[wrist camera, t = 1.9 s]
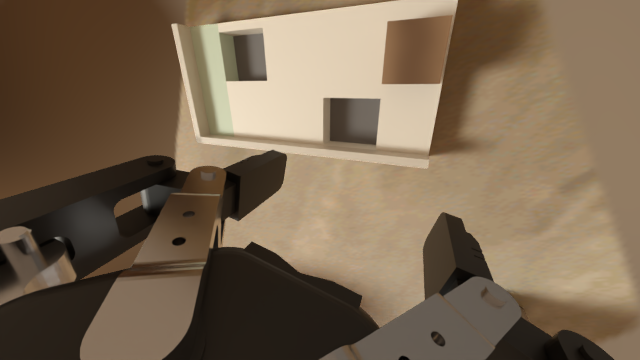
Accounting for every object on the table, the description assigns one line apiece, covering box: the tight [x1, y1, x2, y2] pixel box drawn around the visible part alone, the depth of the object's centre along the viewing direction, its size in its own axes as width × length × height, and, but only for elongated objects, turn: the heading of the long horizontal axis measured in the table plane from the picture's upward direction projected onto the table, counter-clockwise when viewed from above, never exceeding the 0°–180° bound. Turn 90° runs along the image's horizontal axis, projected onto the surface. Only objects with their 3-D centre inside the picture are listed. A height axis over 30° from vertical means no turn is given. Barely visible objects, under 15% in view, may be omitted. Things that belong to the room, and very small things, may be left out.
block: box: [382, 15, 453, 84], centre depth 21 cm, size 5×5×4 cm
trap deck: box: [172, 0, 458, 169], centre depth 29 cm, size 34×16×5 cm, turn 91°
